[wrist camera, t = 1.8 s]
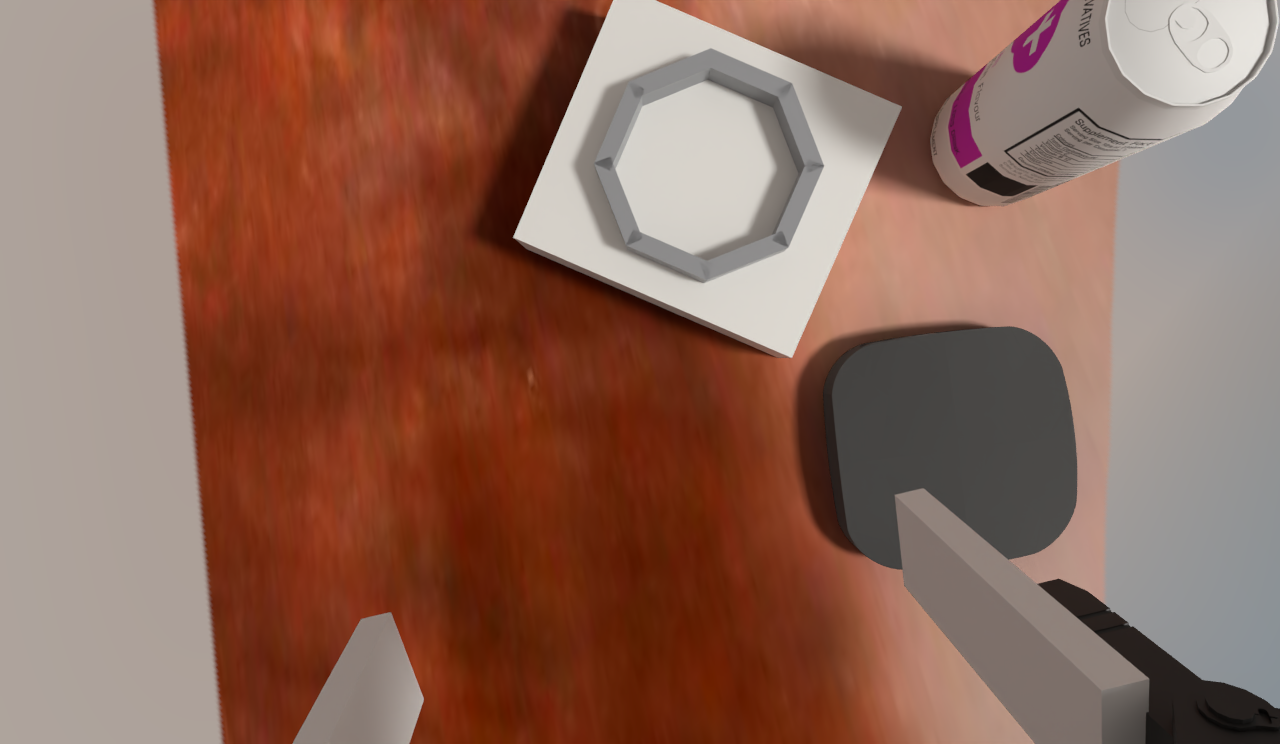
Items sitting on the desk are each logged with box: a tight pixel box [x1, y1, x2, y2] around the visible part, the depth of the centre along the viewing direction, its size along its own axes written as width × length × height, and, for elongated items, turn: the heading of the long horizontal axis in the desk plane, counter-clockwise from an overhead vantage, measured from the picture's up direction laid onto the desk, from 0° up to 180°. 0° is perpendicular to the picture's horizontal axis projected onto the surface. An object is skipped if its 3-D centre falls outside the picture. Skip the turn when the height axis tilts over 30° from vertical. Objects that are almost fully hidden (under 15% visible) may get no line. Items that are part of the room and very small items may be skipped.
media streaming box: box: [823, 327, 1077, 569], centre depth 40 cm, size 15×15×3 cm
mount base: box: [513, 0, 902, 358], centre depth 38 cm, size 18×16×6 cm
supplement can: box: [930, 0, 1279, 206], centre depth 33 cm, size 8×8×15 cm
